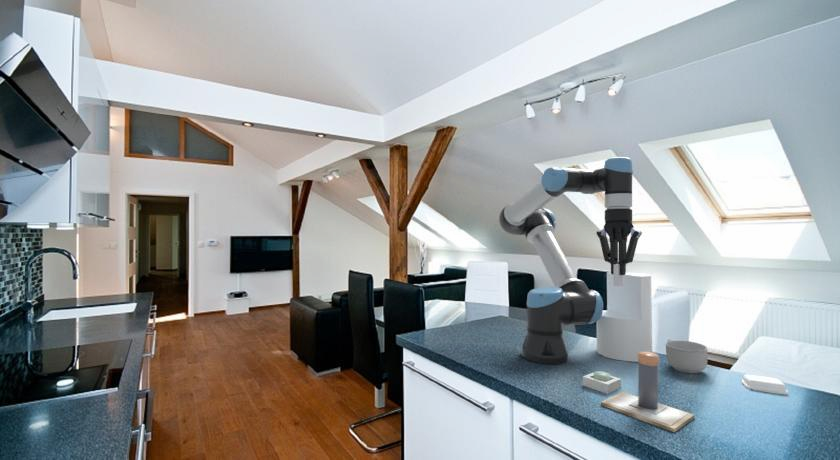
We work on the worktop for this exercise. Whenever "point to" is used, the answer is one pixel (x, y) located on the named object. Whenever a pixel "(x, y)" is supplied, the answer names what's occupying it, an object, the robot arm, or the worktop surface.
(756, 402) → the worktop surface
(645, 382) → the marker
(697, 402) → the worktop surface
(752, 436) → the worktop surface
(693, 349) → the teacup
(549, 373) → the worktop surface
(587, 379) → the button housing
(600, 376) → the button
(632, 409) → the wooden picture frame
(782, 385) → the soap
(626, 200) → the robot arm
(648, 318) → the cylinder
